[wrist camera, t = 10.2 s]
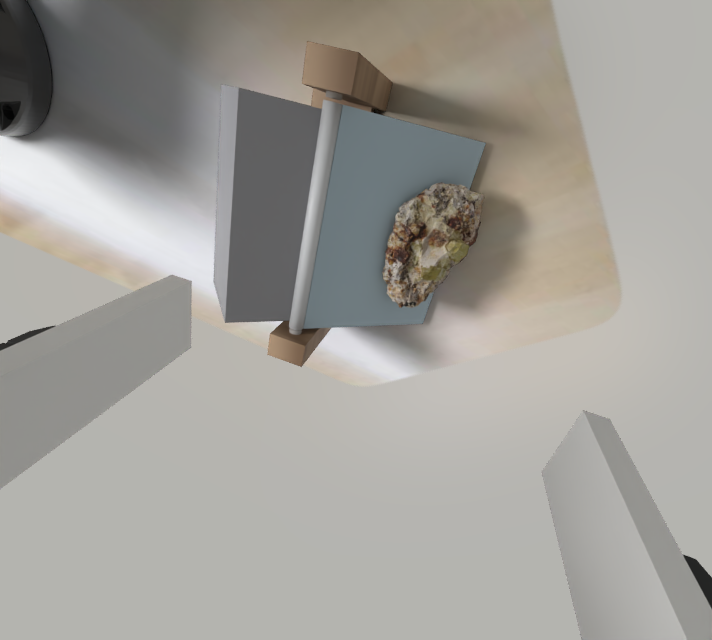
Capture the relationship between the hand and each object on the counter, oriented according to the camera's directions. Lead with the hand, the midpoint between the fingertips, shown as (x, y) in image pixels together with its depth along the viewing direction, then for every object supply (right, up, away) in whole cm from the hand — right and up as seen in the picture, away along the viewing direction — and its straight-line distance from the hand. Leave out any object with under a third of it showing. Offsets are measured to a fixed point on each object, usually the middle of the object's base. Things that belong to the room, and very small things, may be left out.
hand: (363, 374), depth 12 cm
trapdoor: (-3, +12, +21) cm, 24 cm away
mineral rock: (+5, +8, +18) cm, 21 cm away
